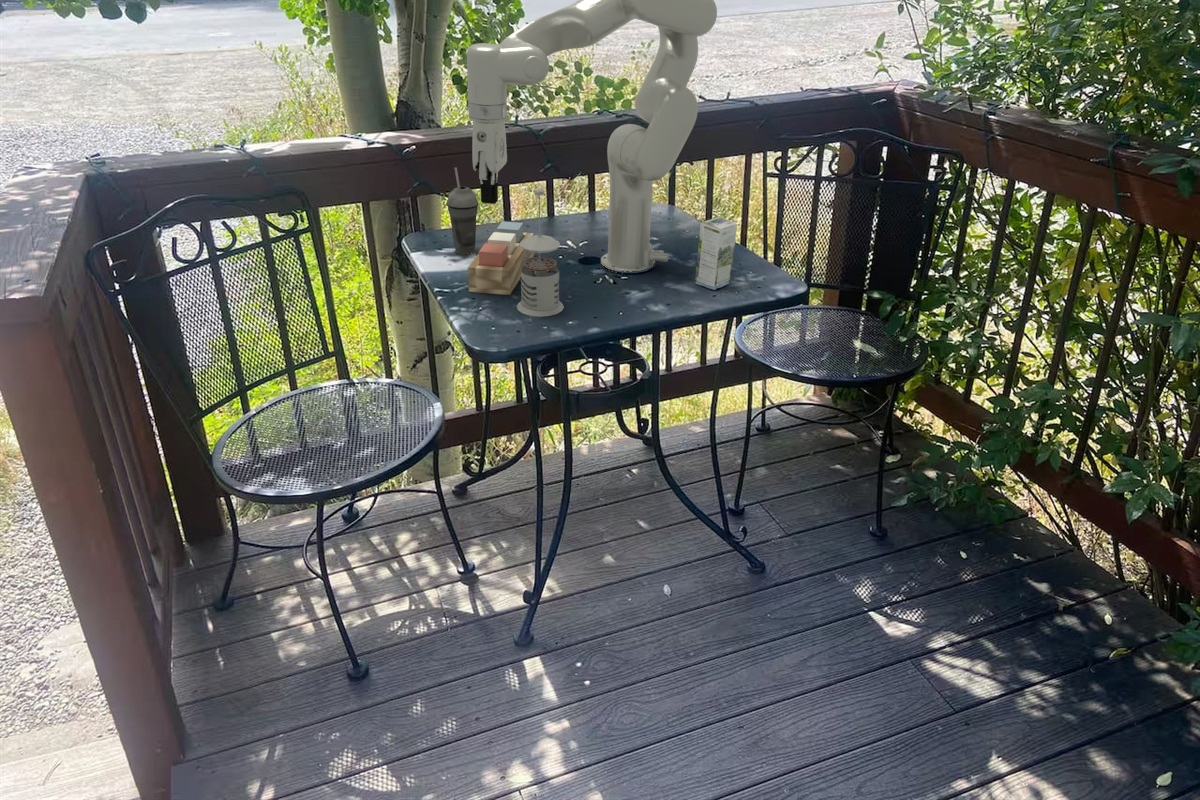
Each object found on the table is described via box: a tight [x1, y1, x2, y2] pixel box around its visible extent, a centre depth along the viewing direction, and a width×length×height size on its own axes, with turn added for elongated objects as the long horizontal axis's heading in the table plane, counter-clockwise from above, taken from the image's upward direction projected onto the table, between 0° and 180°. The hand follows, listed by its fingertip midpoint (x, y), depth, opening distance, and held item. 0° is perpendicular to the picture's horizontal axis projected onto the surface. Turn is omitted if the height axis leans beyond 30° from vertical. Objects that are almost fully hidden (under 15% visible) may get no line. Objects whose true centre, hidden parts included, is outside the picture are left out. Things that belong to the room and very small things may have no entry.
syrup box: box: [694, 216, 738, 287], centre depth 193 cm, size 6×6×14 cm
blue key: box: [496, 220, 524, 243], centre depth 203 cm, size 5×5×4 cm
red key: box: [478, 242, 508, 267], centre depth 190 cm, size 5×5×4 cm
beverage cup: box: [446, 167, 479, 256], centre depth 205 cm, size 7×7×20 cm
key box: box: [467, 229, 535, 296], centre depth 198 cm, size 9×24×6 cm, turn 171°
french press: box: [516, 187, 565, 318], centre depth 179 cm, size 10×12×25 cm
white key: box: [487, 231, 516, 255], centre depth 196 cm, size 5×5×4 cm
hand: (489, 202), depth 184 cm, fingers closed
